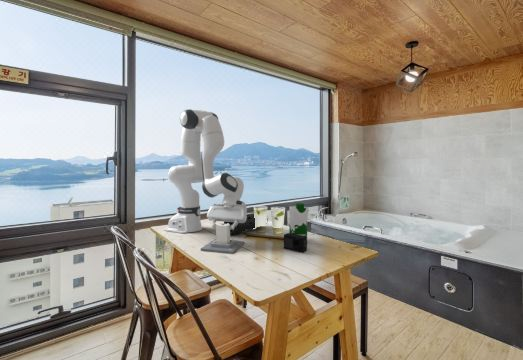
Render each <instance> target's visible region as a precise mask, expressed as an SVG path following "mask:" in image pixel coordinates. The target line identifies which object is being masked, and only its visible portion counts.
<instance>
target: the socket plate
mask: <svg viewBox="0 0 523 360" xmlns="http://www.w3.org/2000/svg"><path fill="white" fill-rule="evenodd" d="M244 244H245V241H243V240H242V241H241V240H235V239H230V243H229V244H219V243H216V238H214V239H212V240H211V241H210V242H208V243H207V244H205V245H204V246H202V247H201V248H200V251H201V252H202V251H203V252H211V253H222V254H231V255H232V254H235V252H236V251H237V250H239V248H241V247H242V246H243V245H244Z"/></svg>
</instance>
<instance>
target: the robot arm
mask: <svg viewBox="0 0 523 360" xmlns="http://www.w3.org/2000/svg"><path fill="white" fill-rule="evenodd" d="M179 123H180V125H181V126H182V130H181V138H180V154H181V156H182V157H183V158H185V160H187V161H188V162H187V163H188V164H179V165H173V166H171V167H170V168H169V170H168V172H167V178H168V180H169V182H171V183H172V184H173V185H174V186H175V187H176V188H177V190H178V192H179V198H180V199H179V200H180V206H178V207H176V211H177V213H176V214H174V215H173V216H172V217H171V218H170V219H169V220H168V226H166V227H164V229H163V230H164V231H165V232H166V231H167V232H171V233H172V232H173V233H179V234H186V233H196V232H199V231H202V230H203V225H202V221H201V206H200V194H199V192H198V191H197V190H196V189H194V188H193V187H192V184H198V183H199V184H200V183H202V185H201V187H202V188H201V189H202V192H203V193H204V195H206V197H208V198H215V197H217V196H219V195H221V194H223V195H224V196H223V199H222V202H221V203H219V204H217V203H213V204H212V205H210V207H209V209H208V211H207V214H206V218H207V220H208V221H210V222H212V225H211V228H212V229H216V225H217V224H216V223H217V222H222V223H224V222H235V223H234V224H233V225H231V227H230V229H231V230H234V228H235V226H236V225H237V224H238V223H244V222H246V218H247V214H248V212H247V211H248V207H247V205H246V203H245V201H242V200H241V198H242V196H243V193H244V187H245V186H244V185H245V184H244V181H243V180H242V179H241V178H239V177H236V176H235V177H234V176H232V175H231V174H230V173H227V172H223V173H220V174H217V175H216V176H215V173H214V160H215V158H216V157H217V156H218V155H219V154H220V152H221V151H222V150H223V149H224V146H225V137H224V133H223V128H222V125H221V123H220V121H219V117H218V116H217V114H216V113H214V112H212V111H206V110H201V109H200V110H199V109H184V110H183V111H182V112H181V114H180V117H179ZM201 137H202V142H201ZM201 143H202V151H201Z"/></svg>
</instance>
